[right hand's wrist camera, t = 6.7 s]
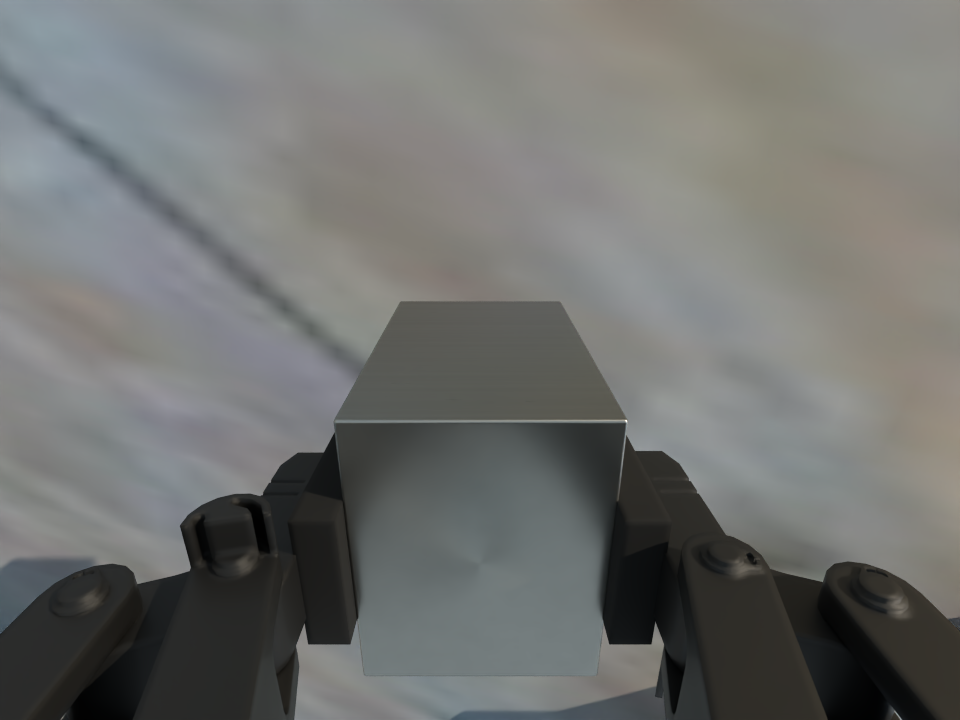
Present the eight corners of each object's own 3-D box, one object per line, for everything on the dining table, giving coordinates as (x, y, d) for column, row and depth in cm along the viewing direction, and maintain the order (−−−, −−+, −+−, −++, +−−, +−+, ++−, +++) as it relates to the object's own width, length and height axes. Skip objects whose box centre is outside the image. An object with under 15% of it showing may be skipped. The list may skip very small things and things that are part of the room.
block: (561, 300, 15) (629, 420, 8) (550, 470, 17) (597, 677, 10) (399, 301, 15) (332, 420, 8) (409, 470, 17) (363, 677, 10)
